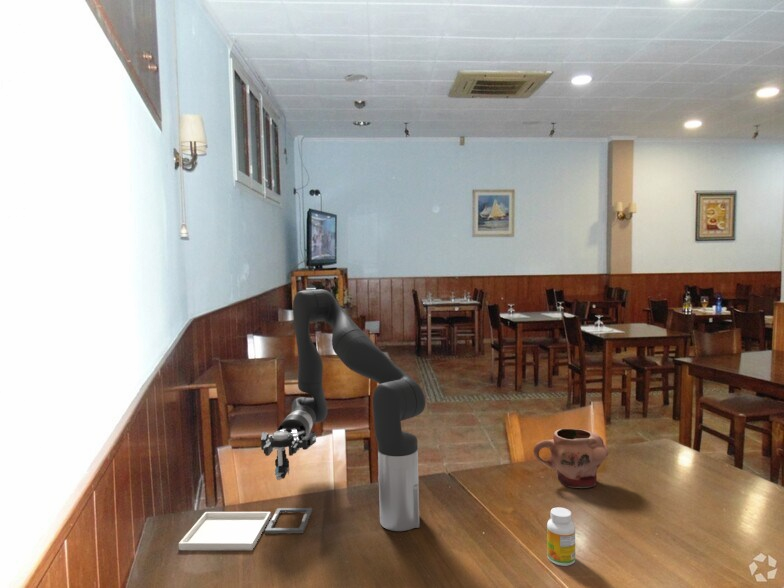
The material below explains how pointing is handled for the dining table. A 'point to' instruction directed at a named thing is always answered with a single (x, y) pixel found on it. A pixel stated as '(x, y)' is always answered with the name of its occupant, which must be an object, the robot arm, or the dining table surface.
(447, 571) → the dining table surface
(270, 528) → the grey flat frame
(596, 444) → the sculpted ceramic mug
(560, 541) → the supplement bottle
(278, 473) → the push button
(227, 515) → the tray
